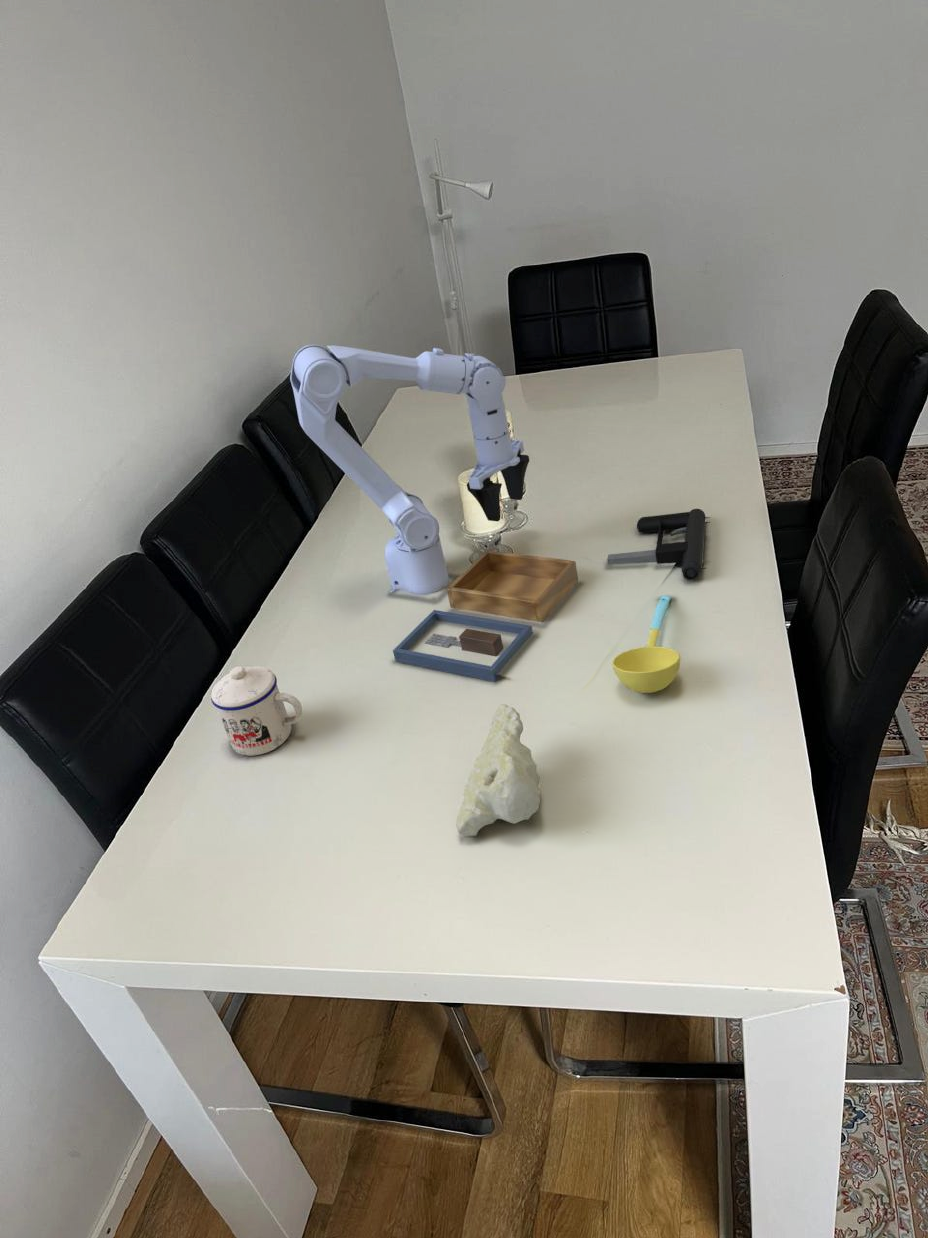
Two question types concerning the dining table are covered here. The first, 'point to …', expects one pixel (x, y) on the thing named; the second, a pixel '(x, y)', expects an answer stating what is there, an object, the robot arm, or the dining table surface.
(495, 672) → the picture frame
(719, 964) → the dining table surface
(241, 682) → the teacup with lid
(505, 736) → the white rock
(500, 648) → the fork
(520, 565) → the wooden box
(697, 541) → the submachine gun
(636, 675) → the ladle
